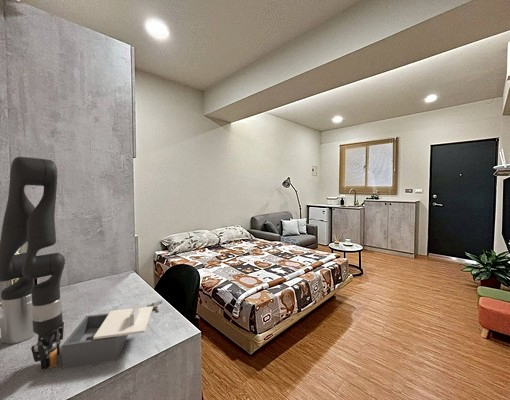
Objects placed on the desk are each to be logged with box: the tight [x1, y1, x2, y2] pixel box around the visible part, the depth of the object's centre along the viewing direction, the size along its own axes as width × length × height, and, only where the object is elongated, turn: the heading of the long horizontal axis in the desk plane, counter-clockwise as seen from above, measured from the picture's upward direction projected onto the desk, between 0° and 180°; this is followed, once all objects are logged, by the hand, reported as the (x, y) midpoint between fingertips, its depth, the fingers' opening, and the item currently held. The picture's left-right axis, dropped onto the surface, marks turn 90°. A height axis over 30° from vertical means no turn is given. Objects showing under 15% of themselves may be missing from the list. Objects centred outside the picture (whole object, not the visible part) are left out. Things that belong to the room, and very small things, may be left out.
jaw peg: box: [44, 341, 59, 370], centre depth 80 cm, size 4×4×7 cm
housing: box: [61, 312, 129, 369], centre depth 89 cm, size 16×18×8 cm
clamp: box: [146, 300, 163, 313], centre depth 114 cm, size 15×2×10 cm
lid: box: [93, 303, 154, 340], centre depth 91 cm, size 16×17×5 cm
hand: (50, 362), depth 81 cm, fingers open, 5 cm apart
